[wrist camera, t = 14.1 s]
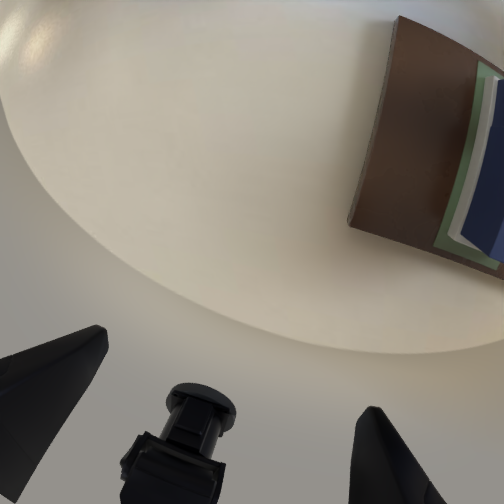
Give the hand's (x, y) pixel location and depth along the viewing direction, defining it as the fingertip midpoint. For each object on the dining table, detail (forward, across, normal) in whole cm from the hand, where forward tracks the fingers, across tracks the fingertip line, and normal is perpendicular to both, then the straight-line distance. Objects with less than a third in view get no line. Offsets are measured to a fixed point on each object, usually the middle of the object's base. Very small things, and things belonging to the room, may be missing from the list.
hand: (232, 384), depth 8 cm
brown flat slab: (+12, -13, -10) cm, 20 cm away
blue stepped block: (+11, -13, -10) cm, 19 cm away
